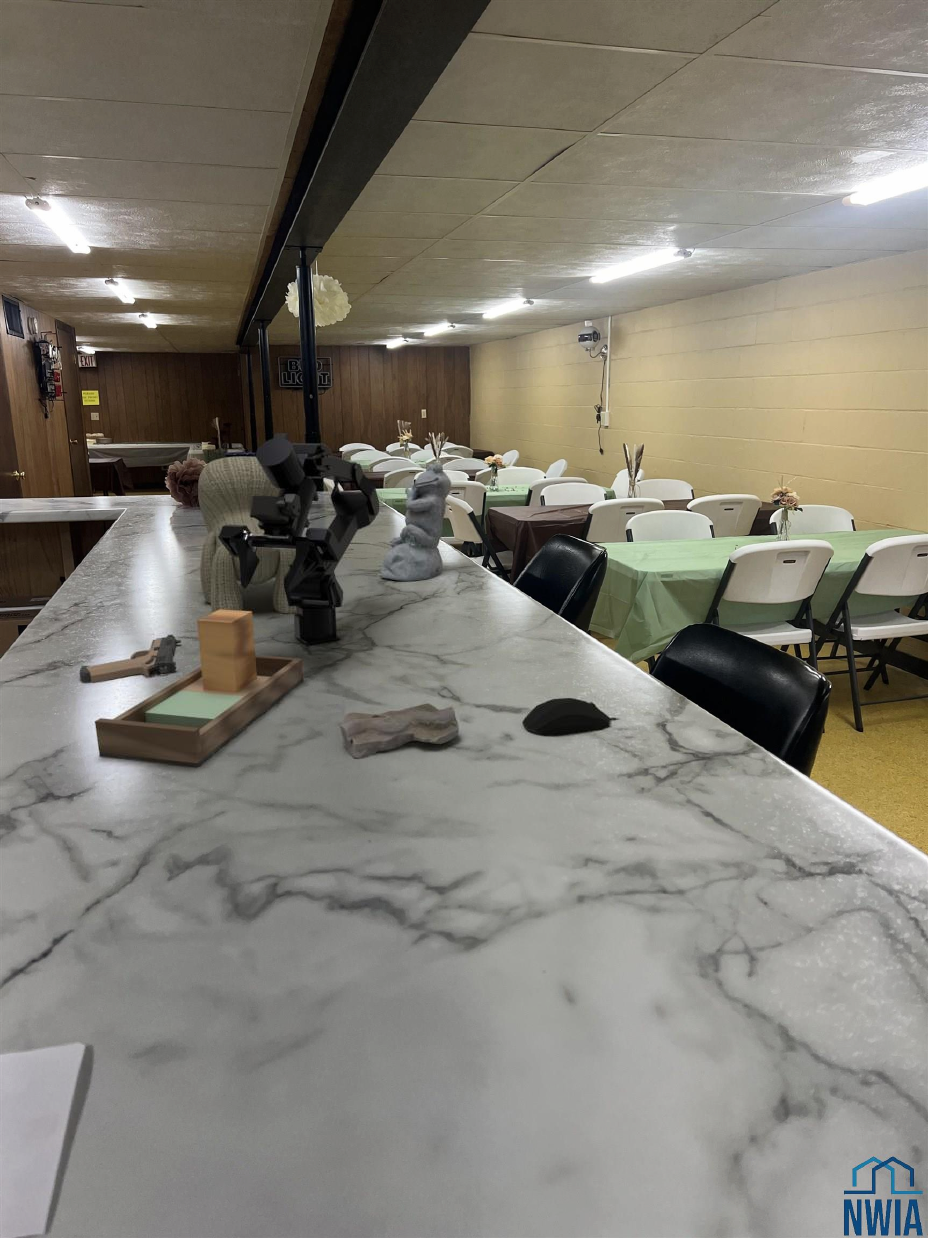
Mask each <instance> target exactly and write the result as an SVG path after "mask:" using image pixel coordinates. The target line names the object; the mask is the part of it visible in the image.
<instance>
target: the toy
mask: <svg viewBox="0 0 928 1238" xmlns="http://www.w3.org/2000/svg"><path fill="white" fill-rule="evenodd" d="M197 485H198V487H197V488H198V489H197V490H198V492H197V495H198V498H197V499H198V503H199V505H198V506H199V508H200V511H201V514H202V519H203V521H204V524H205V527H206V530H207V533H208V535H207V536H206V538H205V540H204V543H203V546H202V550H201V555H200V565H199V566H200V569H199V571H200V585H201V591H202V595H203V598H204V600H205V601H206V602H207V603H208V604H209V603H211V604H210V606H211V607H210V608H211V613H213V612H215V611H217V610H220V609H222V610H237V611H244V610H243V609H244V607H243V602H244V601H243V595H242V592H241V589H240V585H239V583H241V578H240V562H239V557H234V556H232V555H231V554H230V553H229V552H228V550H227V549H226V548H225V546H224V545H223V544H222V542H221V541H220V540H219V538H218V535H219V532H220V530H221V528H222V527H223V526H224V525H246V526H247V527H248V529H249V530H250V532H251V533H252V534H264V530H261V529H260V528H259V526H258V523H259V521H258V520H257V519H255V518H254V517H253V518H251V517H250V510H251V503H252V496H277V493H278V490H279V488H276V487H274V486H273V485H272V484H271V483H270V481H269V479H268V477H267V476H266V474H265V472H264V471H263V469H262V467H261V465H260V464H259V462H258V460H257V458H256V456H229V457H228V456H227V457H222V458H218V459H213V460H212V461H210V462H209V463H207V464H206V465H205V466H204V467H203V468H202V471H201V472H200V475H199V477H198V483H197ZM256 555H257V557H258V558H259V560H260V561H259V563H258V566H257V568H256V570H255V572H254V574H253V577H252V579H251V581H250V583H249V585H253V586H254V585H260V584H265V583H266V582H268V581H270V580H271V579H273V578H275V580H274V584H273V589H272V604H273V607H274V610H275V611H276V612H278V613H281V614H285V615H286V614H287V613H288V614H297V611H296V606H292V607H290V606H289V605H288V601H287V597H286V593H285V589H284V577H285V575H286V573H287V572H288V570H289V569H290V567H289V565H290V564H292V562H293V561H294V559H295V556H296V550H292V549H274V548H266V547H257V551H256Z"/></svg>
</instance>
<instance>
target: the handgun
mask: <svg viewBox="0 0 928 1238" xmlns="http://www.w3.org/2000/svg"><path fill="white" fill-rule="evenodd" d="M181 643H182V640H181V639H176V637H175V636H174V635H173V634H167V636H165V637H157V638H155V639H154V638H153V640H152V642H151V645H150V647H149V649H146V650H145V649H144V650H138V651H135V652H133V653H132V654H131V656H130V658H127V659H126V658H125V659H122V660H116V661H115V660H114V661H110V662H104V663H99V664H95V665H94V664H93V665H81V666H80V670H79V679H80V681H81V682H82V683H84V684H93V682H94V683H100V682H106V681H111V680H115V679H121V678H126V677H131V676H138V675H144V676H145V678H147V677H149V678H148V679H151V678H153V677H152V676H154V677H156V676H155V675H158V676H162V675H161V674H164V675H168V674H167V673H170V674H171V673H174V672H175V671H176V670H177V666H176V665H177V663H176V661H173V659H174V657H173V656H174V655H175V651H176V647H177V644H181ZM137 674H138V675H137ZM91 682H92V683H91Z"/></svg>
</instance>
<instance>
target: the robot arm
mask: <svg viewBox="0 0 928 1238" xmlns="http://www.w3.org/2000/svg"><path fill="white" fill-rule="evenodd" d="M273 436H274V437H273V438H271V439H269V440H267V441H265V442H264V443H262V445H260V446H259V447H258V448H257V449H256V453H255V457H256V458H257V460H258V462H259V464H260V465H261V467H262V469H263V471H264V472H265V474H266V476H267V477H268V479H269V481H270V483H271V484H272V485H273V486H274V487H276V488H279V490H278V493H277V496H252V503H251V510H250V517H251V518H253V517H254V518H255V519H257V520H258V521H259V523H258V526H259V528H260V529H261V530H264V534H252V533H251V532H250V530H249V529H248V527H247V526H246V525H224V526H223V527H222V528H221V530H220V532H219V535H218V538H219V540H220V541H221V542H222V544H223V545H224V546H225V548H226V549H227V550H228V552H229V553H230V554H231V555H232V556H234V557H239V562H240V578H241V582H240V586H241V588H242V589H247V587H248V586H249V585H250V584H249V583H250V581H251V579H252V577H253V574H254V572H255V570H256V568H257V566H258V563H259V561H260V560H259V558H258V557H257V555H256V551H257V547H266V548H274V549H292V550H296V556H295V559H294V561H293V562H292V564H290V565H289V567H290V569H289V570H288V572H287V573H286V575H285V577H284V589H285V593H286V597H287V601H288V605H289V606H290V607H292V606H296V611H297V613H293V614H294V615H293V619H294V621H293V623H294V635H293V636H294V637H295V638H297V639H298V640H299V641H301V642H302V643H304V644H306V645H314V644H321V643H327V642H331V641H337V640H341V635H339V634H338V633H337V631H338V630H337V612H336V611H337V610H336V608H337V609H338V608H341V607H342V606H343V602H344V601H343V600H344V591H343V588H342V587H341V585H340V583H339V582H338V580H337V578H336V574H335V570H336V568H337V567H338V565H339V563H340V561H341V560H342V559H343V556H344V554H345V553H346V551H347V549H348V547H349V546H350V544H351V542H352V540H353V539H354V537H355V535H356V533H357V532H358V531H359V530H361V529H364V528H366V527H369V526H370V525H371V524H372V523H373V522H374V521H375V519H376V517H377V516H378V515H379V512H380V500H379V496H378V492H377V489H376V486H375V485H374V484H373V482H371V481H370V479H369V478H368V477H367V476H366V475H365V474H364V472H363V468H362V465H361V464H360V463H358V462H357V461H349V460H347V459H344V458H340V457H338V456H334V455H333V451H332V449H331V448H329V446H327V445H326V444H325V443H301V442H300V443H292V442H291V439H290V437H289V435H288V433H275V434H274V435H273ZM313 479H326V480H331V481H333V484H334V486H333V489H332V492H331V494H330V500H331V503H332V506H333V509H334V514H335V516H334V518H333V520H332V521H331V523H330V525H329V526H328V527H327V528H321V527H319V528H318V527H317V528H316V527H310V524H311V522H310V520H309V518H308V517H309V514H310V510H311V507H312V505H313V502H319V494H318V491H317V485H316V484H315V482H314V481H313ZM339 484H355V486H356V488H357V489H358V490H359V491H346V490H344V491H343V490H341V491H340V488H339ZM306 528H307V529H306ZM305 529H306V531H305V534H304V535H305V536H303V533H304V530H305Z"/></svg>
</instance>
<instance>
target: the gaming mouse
mask: <svg viewBox="0 0 928 1238" xmlns="http://www.w3.org/2000/svg"><path fill="white" fill-rule="evenodd" d="M611 721H619V718H617V717H610V716H609V715H607V714H606V713H605V712H603V710H601V709H599V707H598V706H597V705H596V703H594V702H592V701H590V702H588V701H586V700H581V699H578V698H573V697H563V698H562V697H561V698H552V699H549V700H546V701H544V702H542V703H539V704H537V705H535V707H533V708H532V710H531V711H530V712H529V713H528V714H527V715H526V716H525V717H524V718H523V720H522V725H523V727H524V728H525V729H526V730H527V731H529V732H532V733H536V734H539V735H541V736H544V737H559V736H560V737H561V736H569V735H575V734H581V733H591V732H595V731H596V732H597V731H602V730H605V729H607V728H609V727H610V722H611Z"/></svg>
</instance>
